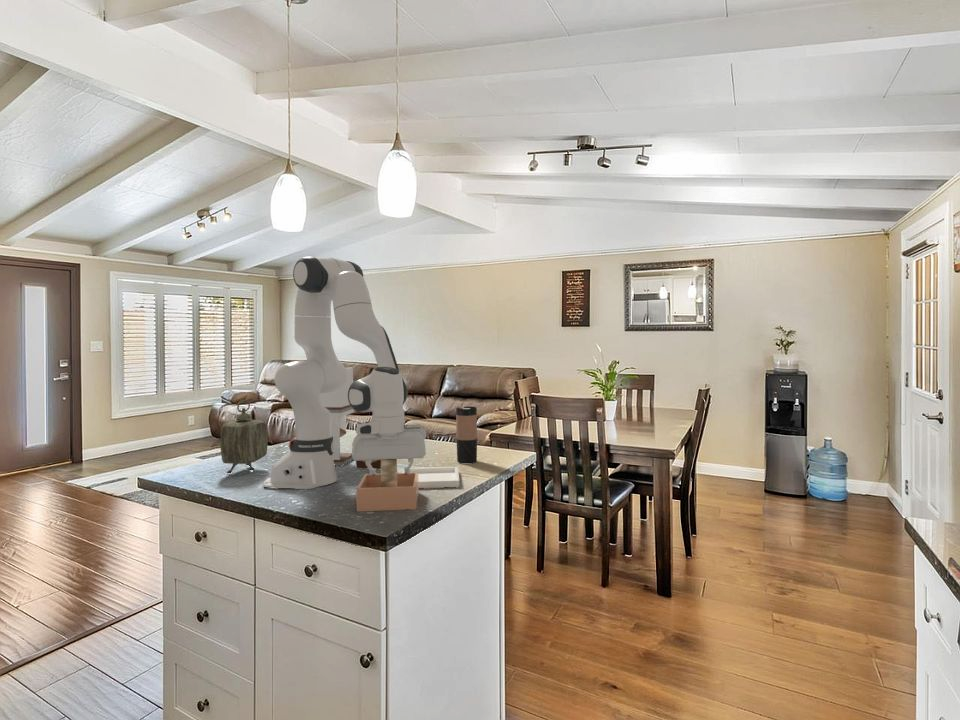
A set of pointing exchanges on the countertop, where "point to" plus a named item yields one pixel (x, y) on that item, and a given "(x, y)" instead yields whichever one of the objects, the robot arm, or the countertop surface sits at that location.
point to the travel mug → (466, 434)
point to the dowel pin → (389, 473)
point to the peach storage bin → (388, 493)
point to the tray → (437, 477)
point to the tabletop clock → (243, 440)
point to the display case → (339, 415)
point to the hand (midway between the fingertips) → (390, 474)
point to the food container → (374, 464)
